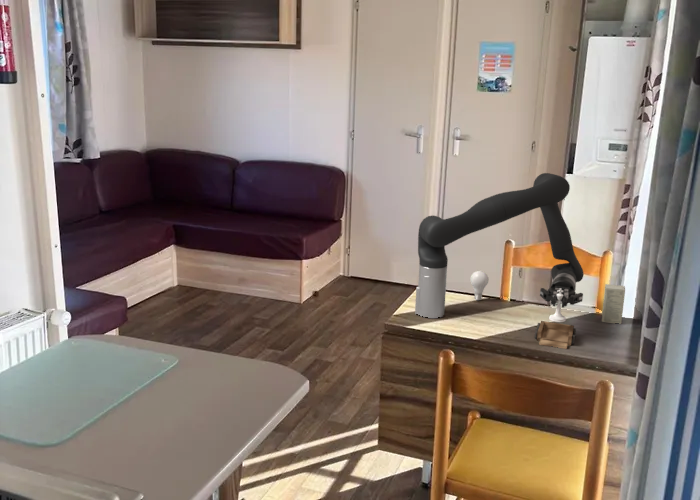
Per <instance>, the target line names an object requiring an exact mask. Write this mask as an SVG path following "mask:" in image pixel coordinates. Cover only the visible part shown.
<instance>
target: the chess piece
mask: <svg viewBox="0 0 700 500" xmlns="http://www.w3.org/2000/svg"><path fill="white" fill-rule="evenodd" d="M557 292H559V294H557V299H558V300H557V301H556V309H555V312H554V313H553V314H550V315H549V318H548V319H549V320H550V321H552V322H554V323H563V322H566V321H567V319H566V316H564V315H563V314H562V311H561V310H562V301H561V300H562V297H563V294H561V292H563V290H561V288H560V290H557Z"/></svg>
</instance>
